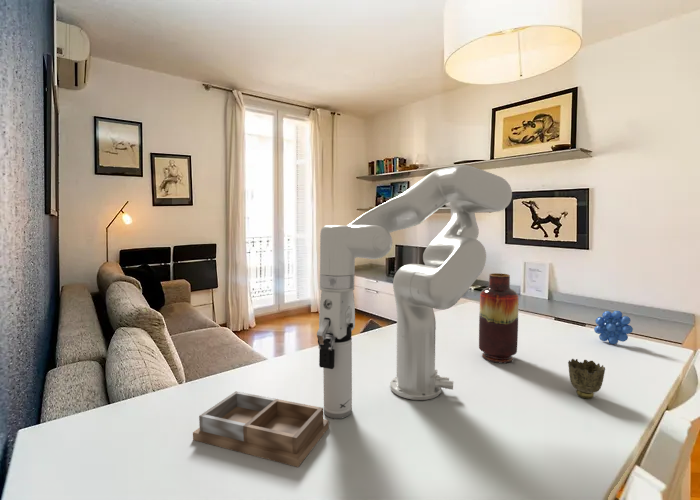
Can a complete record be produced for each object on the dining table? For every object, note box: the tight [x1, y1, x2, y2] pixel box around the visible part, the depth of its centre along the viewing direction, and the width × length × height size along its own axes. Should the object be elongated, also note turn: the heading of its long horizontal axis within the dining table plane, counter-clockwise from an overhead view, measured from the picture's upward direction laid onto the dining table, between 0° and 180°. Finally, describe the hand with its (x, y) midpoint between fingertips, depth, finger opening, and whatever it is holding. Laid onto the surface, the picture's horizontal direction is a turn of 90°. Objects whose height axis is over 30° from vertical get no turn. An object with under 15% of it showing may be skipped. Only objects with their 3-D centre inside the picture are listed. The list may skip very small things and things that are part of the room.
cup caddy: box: [192, 391, 330, 468], centre depth 72 cm, size 23×13×4 cm, turn 70°
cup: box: [567, 358, 606, 400], centre depth 87 cm, size 8×7×8 cm
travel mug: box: [323, 323, 353, 420], centre depth 80 cm, size 6×7×20 cm
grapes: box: [594, 310, 634, 345], centre depth 125 cm, size 12×7×12 cm, turn 28°
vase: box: [478, 272, 520, 364], centre depth 112 cm, size 11×11×26 cm
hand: (335, 359), depth 80 cm, fingers open, 9 cm apart
